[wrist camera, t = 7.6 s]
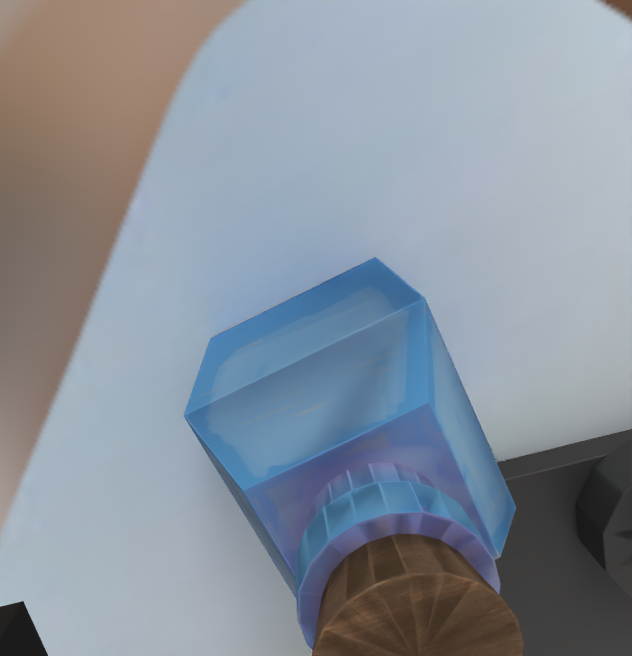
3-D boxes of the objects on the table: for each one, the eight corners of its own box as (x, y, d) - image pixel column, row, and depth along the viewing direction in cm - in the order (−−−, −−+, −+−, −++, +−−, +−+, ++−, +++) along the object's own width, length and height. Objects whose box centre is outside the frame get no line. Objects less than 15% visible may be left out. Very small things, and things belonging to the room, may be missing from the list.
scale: (332, 491, 21) (342, 543, 18) (703, 399, 21) (771, 435, 18) (393, 734, 24) (410, 809, 22) (712, 653, 25) (770, 717, 22)
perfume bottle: (375, 257, 19) (544, 398, 7) (444, 409, 20) (670, 718, 9) (210, 338, 19) (119, 598, 8) (292, 481, 21) (319, 869, 9)
